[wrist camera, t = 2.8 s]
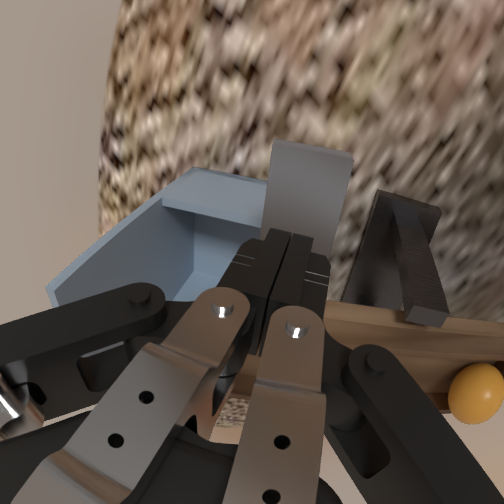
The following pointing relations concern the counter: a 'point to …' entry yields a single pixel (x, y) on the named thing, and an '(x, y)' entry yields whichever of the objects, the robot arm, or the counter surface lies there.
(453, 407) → the ball
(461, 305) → the counter surface
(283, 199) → the lever
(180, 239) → the grey-blue open bin
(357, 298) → the lever stand
